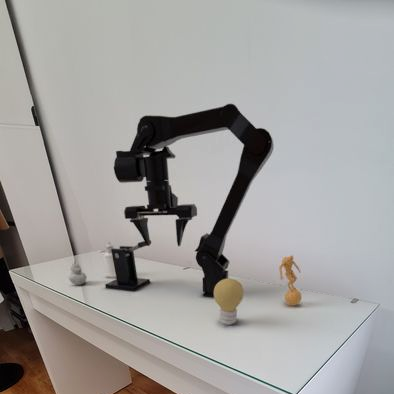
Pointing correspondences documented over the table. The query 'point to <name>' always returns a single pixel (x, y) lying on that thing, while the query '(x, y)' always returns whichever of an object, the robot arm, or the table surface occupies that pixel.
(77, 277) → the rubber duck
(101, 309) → the table surface
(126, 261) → the bracket
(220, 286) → the light bulb
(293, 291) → the figurine
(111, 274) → the eye dropper bottle
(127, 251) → the lever
